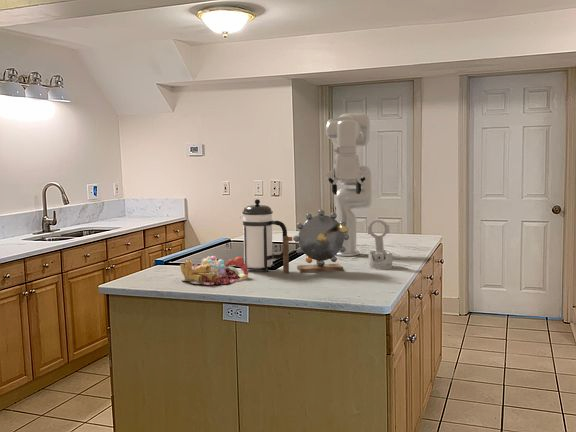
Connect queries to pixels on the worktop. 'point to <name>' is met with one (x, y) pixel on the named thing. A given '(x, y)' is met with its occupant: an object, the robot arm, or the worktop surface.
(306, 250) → the sprocket
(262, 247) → the coffee press
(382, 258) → the engine component
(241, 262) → the candy landscape model
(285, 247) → the wheel stand
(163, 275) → the worktop surface
